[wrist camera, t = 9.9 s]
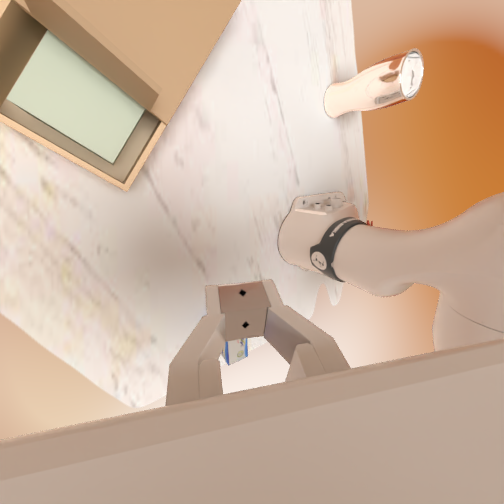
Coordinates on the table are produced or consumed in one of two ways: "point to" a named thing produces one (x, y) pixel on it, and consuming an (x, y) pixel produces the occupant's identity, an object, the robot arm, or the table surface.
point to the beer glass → (377, 85)
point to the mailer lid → (139, 41)
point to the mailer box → (70, 102)
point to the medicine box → (235, 350)
